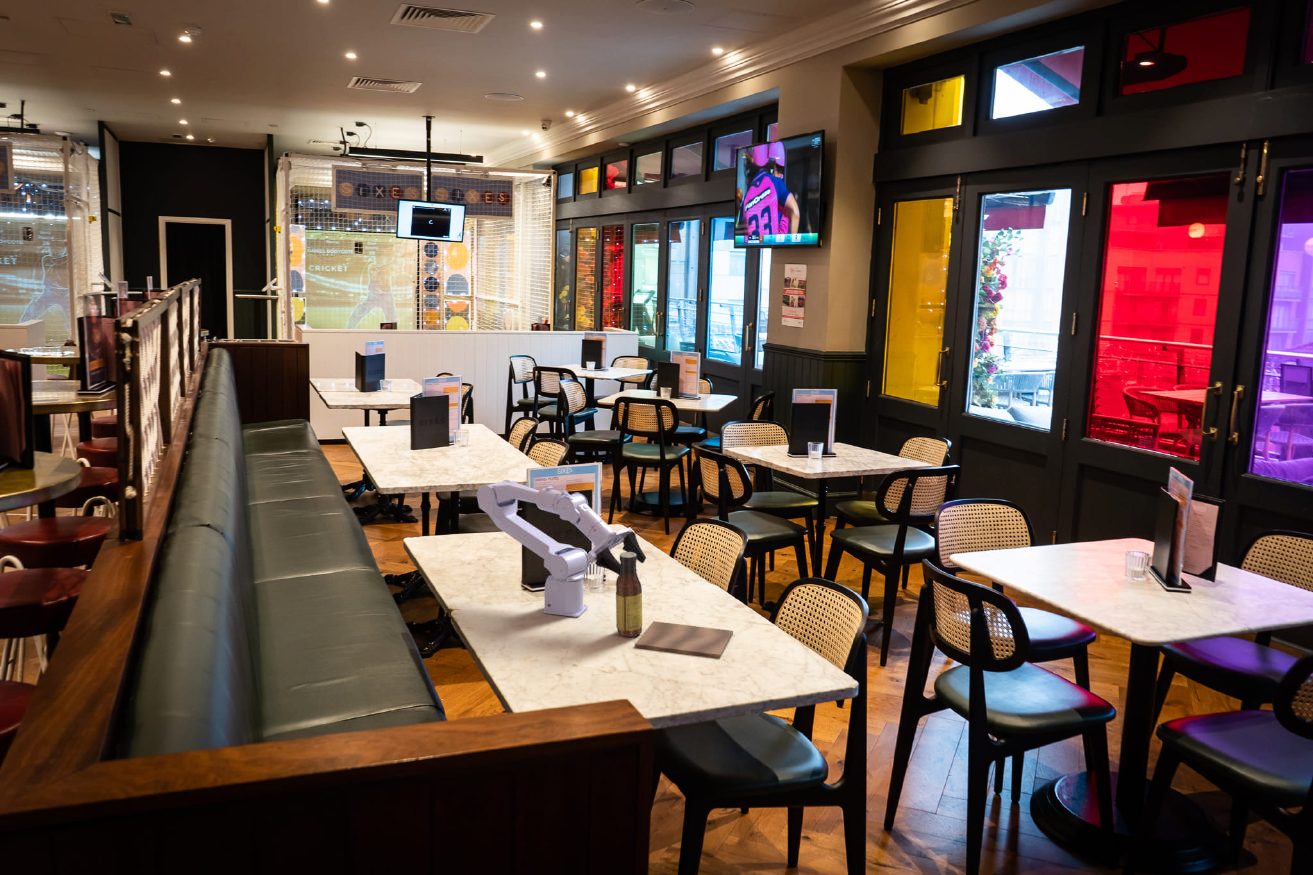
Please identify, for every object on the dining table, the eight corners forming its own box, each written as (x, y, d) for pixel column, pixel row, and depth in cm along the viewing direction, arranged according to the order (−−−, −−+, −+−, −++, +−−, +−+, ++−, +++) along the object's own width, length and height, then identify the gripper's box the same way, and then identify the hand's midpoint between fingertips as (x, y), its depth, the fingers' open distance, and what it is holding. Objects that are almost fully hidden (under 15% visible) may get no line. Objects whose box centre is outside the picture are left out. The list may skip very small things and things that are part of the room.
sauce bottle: (645, 629, 227) (647, 552, 222) (636, 640, 221) (638, 560, 216) (620, 625, 229) (622, 548, 224) (611, 635, 223) (612, 556, 218)
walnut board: (635, 647, 216) (635, 643, 216) (653, 624, 231) (653, 621, 231) (720, 658, 211) (720, 654, 211) (733, 633, 226) (733, 630, 226)
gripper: (578, 532, 224) (617, 570, 219) (620, 507, 233) (658, 543, 228) (572, 550, 228) (610, 588, 223) (613, 525, 238) (650, 561, 233)
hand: (634, 566), depth 226 cm, fingers open, 7 cm apart
